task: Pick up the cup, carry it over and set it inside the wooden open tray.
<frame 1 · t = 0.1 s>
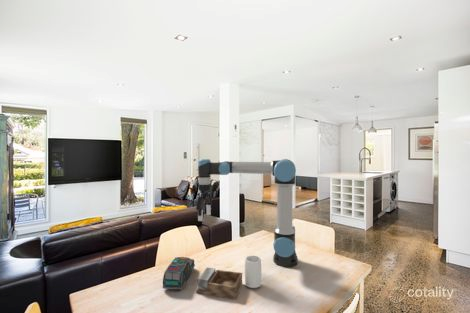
hand: (204, 217, 149), 28 cm above the table, fingers open, 13 cm apart
toy van: (179, 279, 130), on the table
cup: (253, 286, 123), on the table
wooden open tray: (220, 287, 121), on the table
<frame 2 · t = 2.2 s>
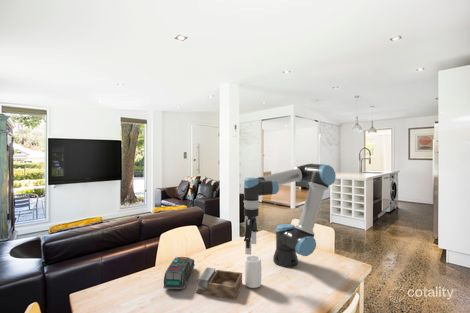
hand: (251, 248, 124), 19 cm above the table, fingers open, 13 cm apart
nothing on the table moved.
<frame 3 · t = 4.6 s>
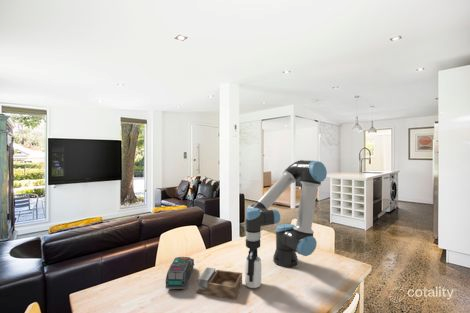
hand: (253, 282, 123), 2 cm above the table, fingers closed on cup, 8 cm apart
cup: (253, 286, 123), on the table, touching gripper
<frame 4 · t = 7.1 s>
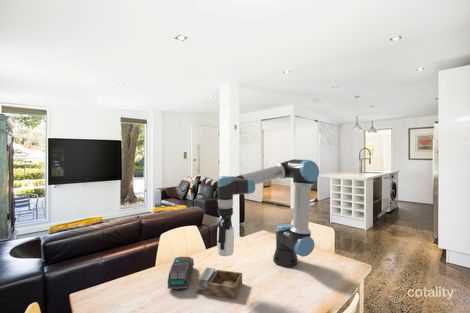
hand: (225, 251, 120), 19 cm above the table, fingers closed on cup, 8 cm apart
cup: (225, 255, 120), point 17 cm above the table, touching gripper
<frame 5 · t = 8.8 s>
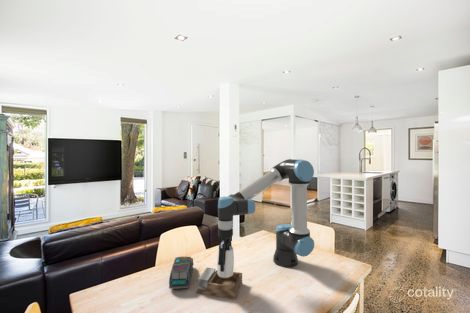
hand: (225, 272, 120), 8 cm above the table, fingers closed on cup, 8 cm apart
cup: (225, 276, 121), point 6 cm above the table, touching gripper
when the fingers open (6 cm above the table, at t = 9.9 s): cup drops 2 cm, resting on wooden open tray.
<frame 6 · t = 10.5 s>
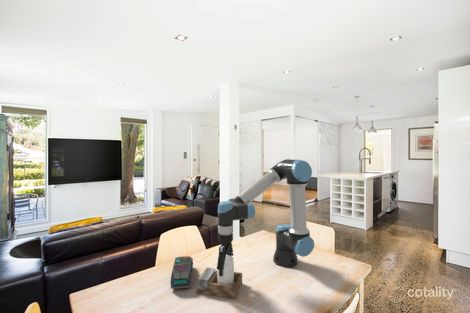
hand: (225, 274, 121), 7 cm above the table, fingers open, 13 cm apart
cup: (225, 286, 120), point 1 cm above the table, touching wooden open tray
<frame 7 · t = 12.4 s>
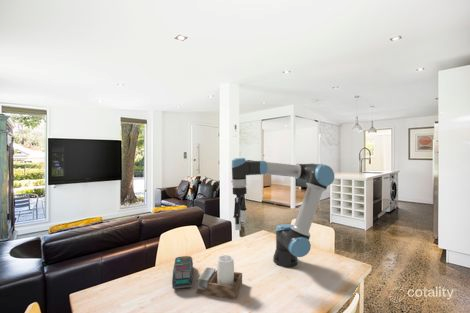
hand: (240, 225, 129), 29 cm above the table, fingers open, 13 cm apart
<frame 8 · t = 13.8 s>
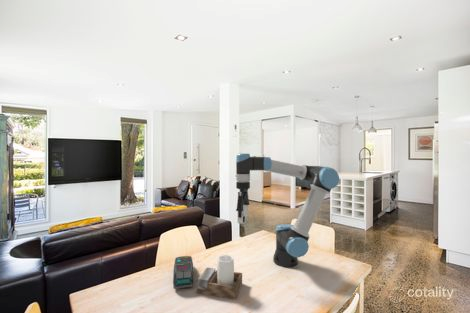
hand: (243, 219, 132), 32 cm above the table, fingers open, 13 cm apart
at the end: cup inside the target area on the wooden open tray (0.3 cm from its centre), point 1.3 cm above the wooden open tray's base; cup tilted 0°; the gripper is holding nothing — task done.
